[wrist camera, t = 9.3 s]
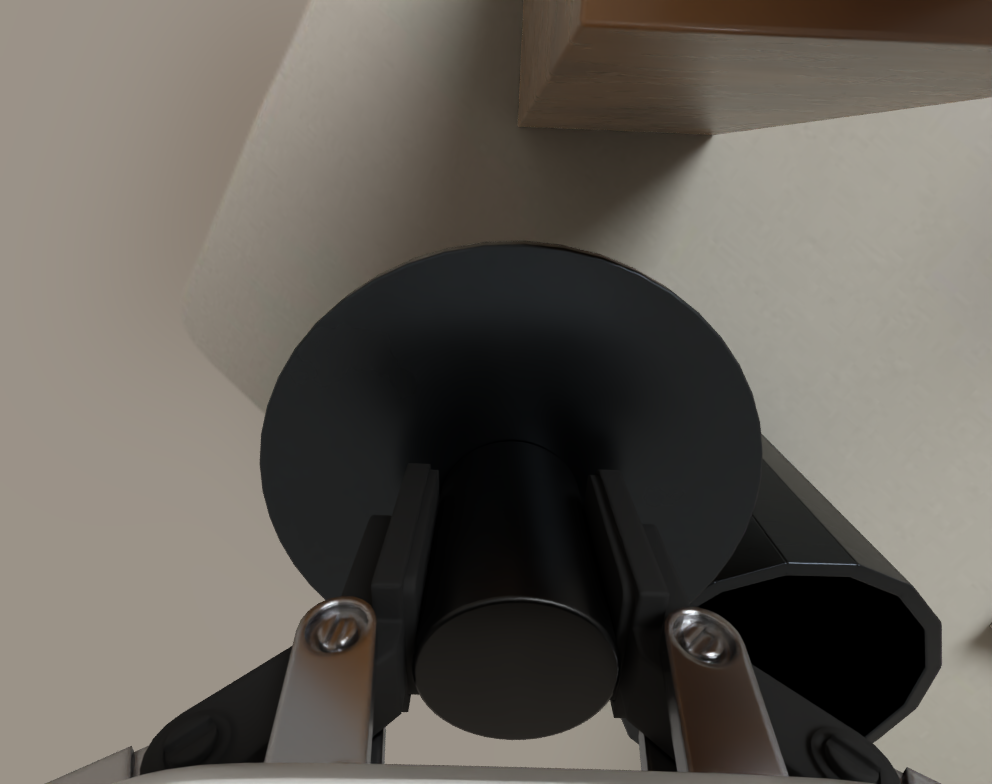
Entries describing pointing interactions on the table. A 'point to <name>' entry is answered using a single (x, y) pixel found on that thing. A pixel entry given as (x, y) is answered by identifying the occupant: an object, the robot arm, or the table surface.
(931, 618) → the trash can
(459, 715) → the bin lid
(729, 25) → the wooden block
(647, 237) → the table surface
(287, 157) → the table surface
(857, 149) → the table surface
